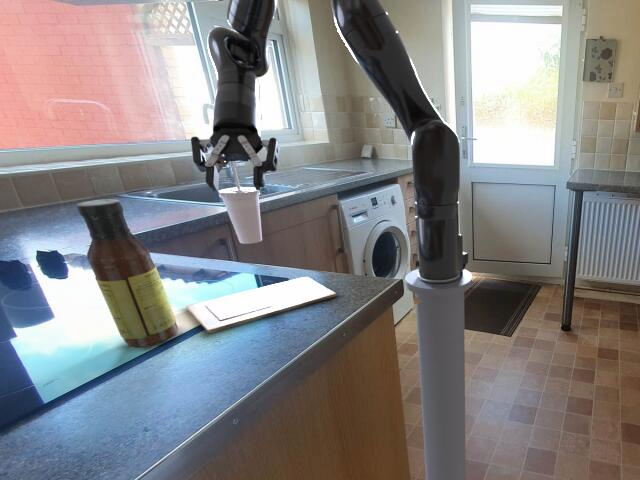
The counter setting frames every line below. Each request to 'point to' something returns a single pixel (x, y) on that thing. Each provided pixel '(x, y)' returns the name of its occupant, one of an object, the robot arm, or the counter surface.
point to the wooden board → (258, 303)
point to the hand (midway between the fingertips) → (236, 187)
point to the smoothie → (243, 211)
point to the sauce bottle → (127, 276)
